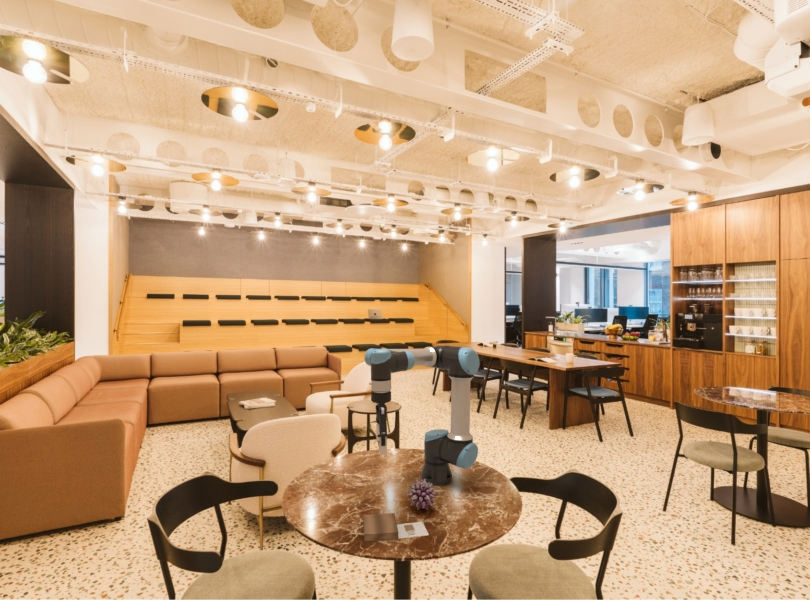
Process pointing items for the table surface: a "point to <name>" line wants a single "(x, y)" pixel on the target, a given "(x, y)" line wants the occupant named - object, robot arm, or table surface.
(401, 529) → the page
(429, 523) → the table surface
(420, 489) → the flower
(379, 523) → the base brick
